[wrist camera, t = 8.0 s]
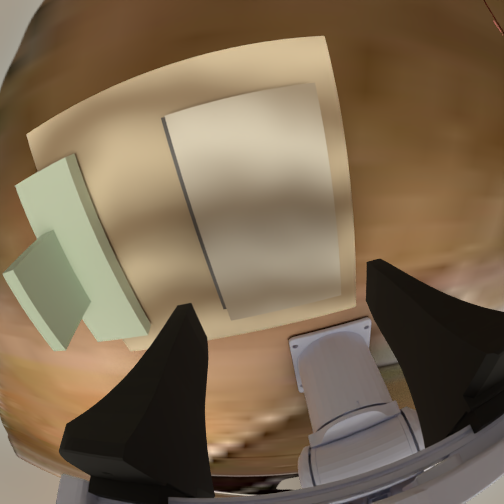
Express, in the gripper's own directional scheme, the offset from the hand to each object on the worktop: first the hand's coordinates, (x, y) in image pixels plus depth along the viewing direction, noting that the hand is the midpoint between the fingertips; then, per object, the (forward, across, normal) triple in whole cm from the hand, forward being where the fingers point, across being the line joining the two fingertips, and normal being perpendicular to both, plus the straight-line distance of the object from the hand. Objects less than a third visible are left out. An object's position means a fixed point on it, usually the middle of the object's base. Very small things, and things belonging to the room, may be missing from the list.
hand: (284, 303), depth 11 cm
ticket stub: (+8, +13, -1) cm, 15 cm away
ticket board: (+9, +4, -1) cm, 10 cm away
